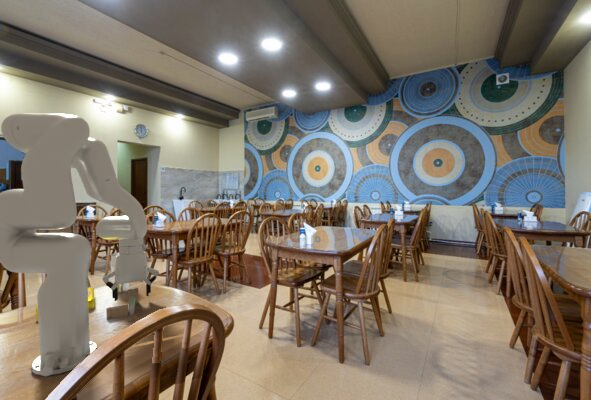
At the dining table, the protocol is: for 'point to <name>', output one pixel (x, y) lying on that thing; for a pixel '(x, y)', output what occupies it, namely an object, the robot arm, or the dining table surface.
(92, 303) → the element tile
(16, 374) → the dining table surface
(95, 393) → the dining table surface
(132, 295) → the hinged panel
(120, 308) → the flat brown box
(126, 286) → the beer glass
